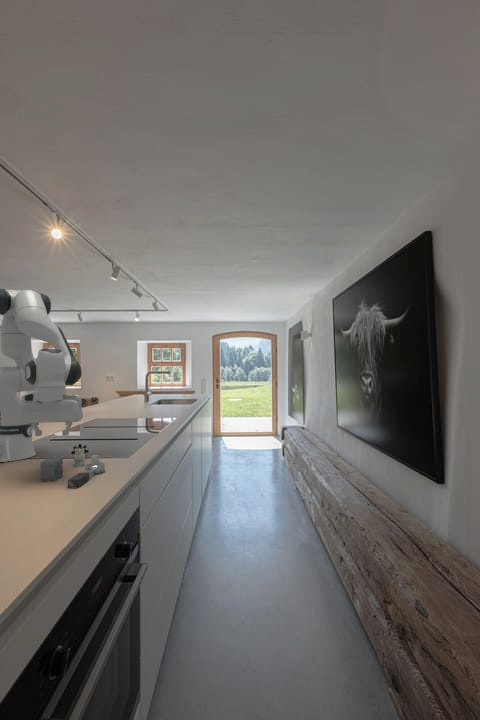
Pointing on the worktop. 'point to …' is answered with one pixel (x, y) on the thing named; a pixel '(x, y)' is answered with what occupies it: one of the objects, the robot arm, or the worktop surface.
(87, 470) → the ratchet
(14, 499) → the worktop surface
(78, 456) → the valve
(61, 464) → the plain grey cube
